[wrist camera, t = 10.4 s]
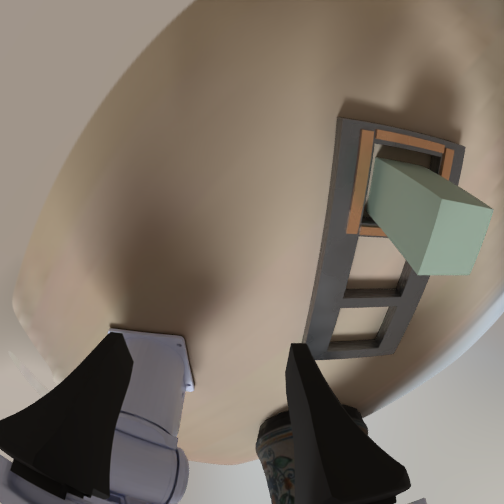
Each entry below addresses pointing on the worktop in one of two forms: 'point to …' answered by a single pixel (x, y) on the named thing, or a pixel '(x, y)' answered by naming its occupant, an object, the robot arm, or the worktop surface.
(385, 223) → the peg
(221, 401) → the worktop surface
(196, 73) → the worktop surface
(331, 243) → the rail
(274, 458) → the beer stein
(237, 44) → the worktop surface
